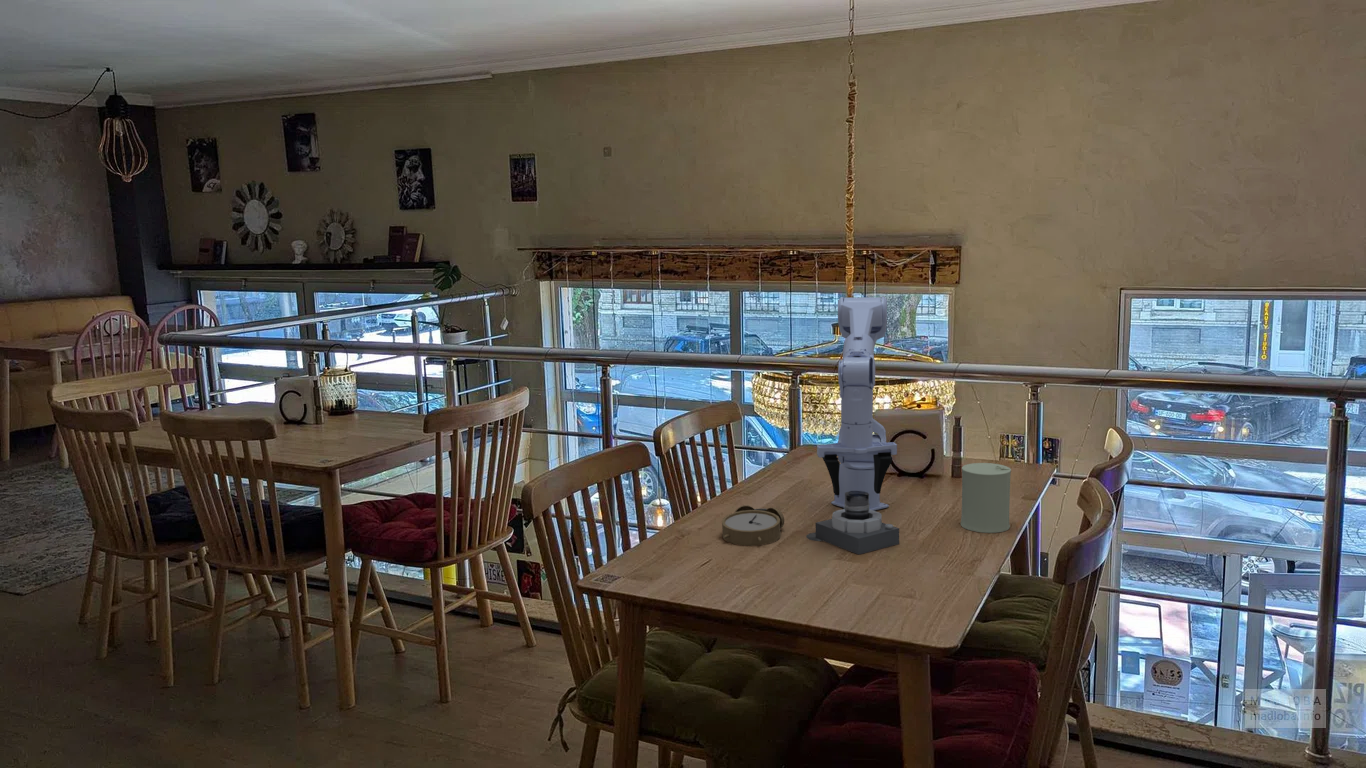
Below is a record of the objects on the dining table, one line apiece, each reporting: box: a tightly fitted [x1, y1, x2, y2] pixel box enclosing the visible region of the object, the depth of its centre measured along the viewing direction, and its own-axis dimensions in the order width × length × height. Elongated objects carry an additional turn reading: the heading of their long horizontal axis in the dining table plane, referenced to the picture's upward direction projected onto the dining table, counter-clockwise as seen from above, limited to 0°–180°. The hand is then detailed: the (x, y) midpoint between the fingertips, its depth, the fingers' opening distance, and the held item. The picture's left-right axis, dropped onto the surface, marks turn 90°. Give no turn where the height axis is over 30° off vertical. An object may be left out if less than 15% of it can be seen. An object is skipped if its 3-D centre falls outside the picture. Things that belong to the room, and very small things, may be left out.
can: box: [960, 462, 1012, 534], centre depth 188 cm, size 9×9×12 cm
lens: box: [843, 491, 869, 520], centre depth 182 cm, size 5×5×6 cm
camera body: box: [815, 508, 900, 555], centre depth 182 cm, size 12×10×5 cm
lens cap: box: [805, 531, 823, 542], centre depth 185 cm, size 5×5×1 cm
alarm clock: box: [721, 504, 785, 547], centre depth 188 cm, size 11×5×15 cm
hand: (856, 493), depth 181 cm, fingers open, 7 cm apart
